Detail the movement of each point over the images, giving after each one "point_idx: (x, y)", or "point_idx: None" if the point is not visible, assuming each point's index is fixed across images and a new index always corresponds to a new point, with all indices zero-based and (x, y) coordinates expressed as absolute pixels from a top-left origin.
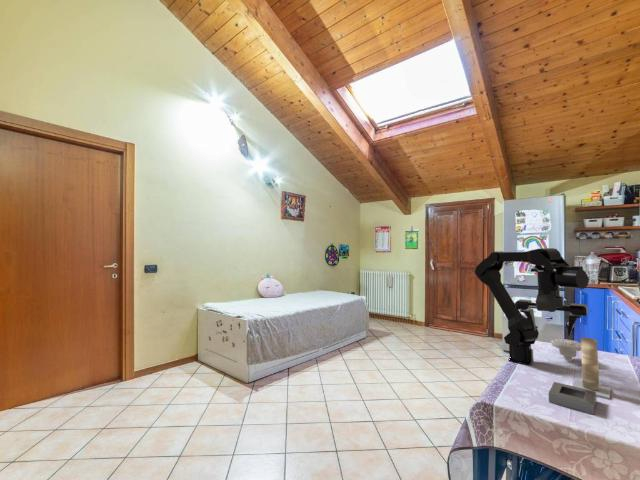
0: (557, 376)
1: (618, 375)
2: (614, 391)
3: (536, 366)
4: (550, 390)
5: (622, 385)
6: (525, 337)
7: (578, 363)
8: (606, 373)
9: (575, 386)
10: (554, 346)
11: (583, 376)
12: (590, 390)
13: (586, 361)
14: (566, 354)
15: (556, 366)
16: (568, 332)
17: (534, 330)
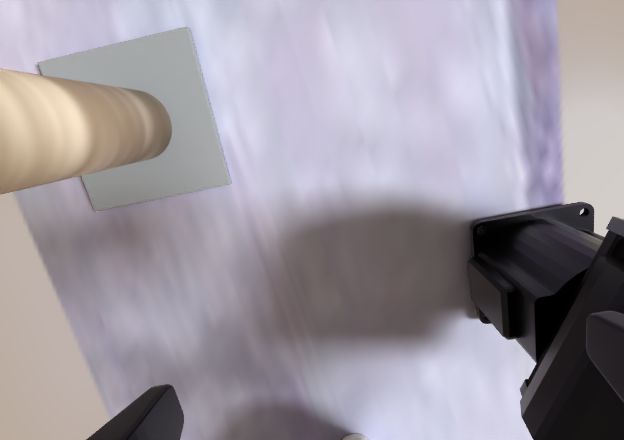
0: (309, 180)
1: None
2: (82, 197)
3: (435, 244)
4: None
5: (98, 301)
6: (621, 271)
7: (310, 436)
8: (191, 397)
9: (187, 78)
10: None
11: (122, 94)
12: (124, 85)
13: (2, 69)
14: None
15: (363, 324)
16: (135, 413)
17: (600, 313)
